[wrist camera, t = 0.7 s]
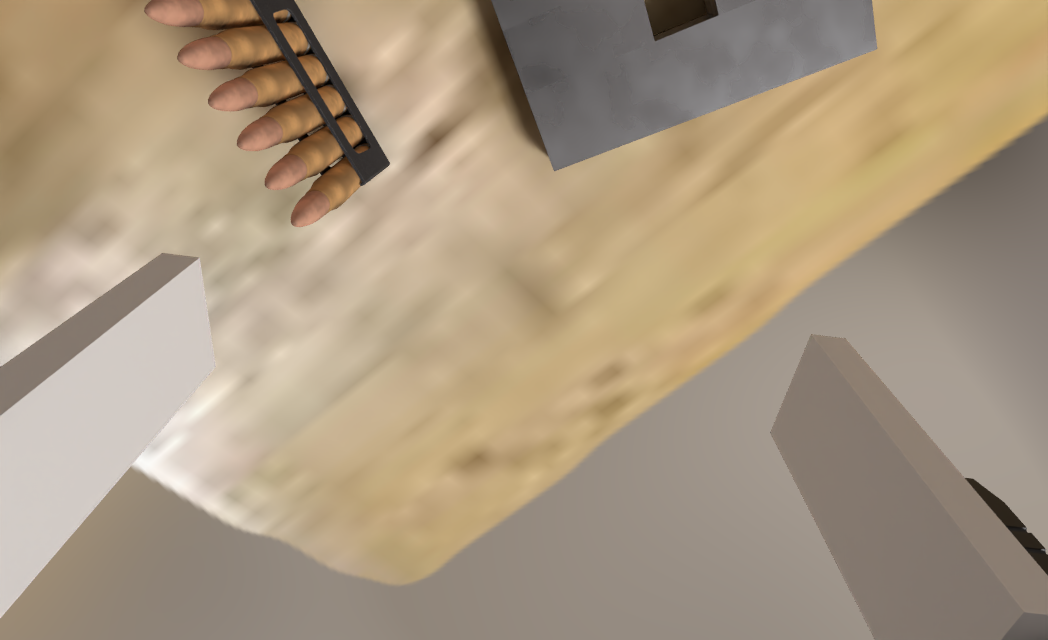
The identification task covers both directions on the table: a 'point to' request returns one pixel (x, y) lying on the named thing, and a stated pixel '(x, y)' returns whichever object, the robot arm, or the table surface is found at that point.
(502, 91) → the table surface
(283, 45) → the ammunition clip
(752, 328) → the table surface
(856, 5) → the socket plate
